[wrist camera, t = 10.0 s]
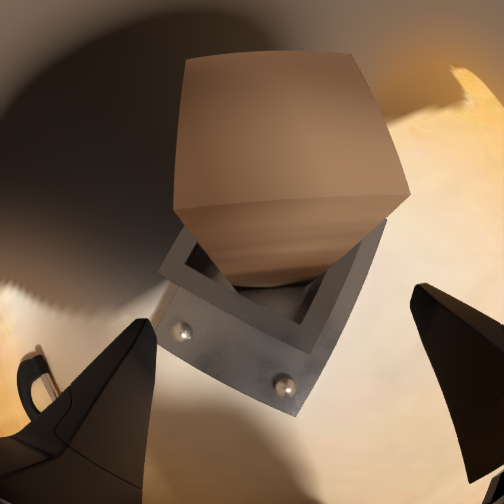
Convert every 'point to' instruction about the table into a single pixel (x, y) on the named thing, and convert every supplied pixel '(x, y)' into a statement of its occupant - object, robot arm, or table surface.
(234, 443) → the table surface
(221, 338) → the cup bracket
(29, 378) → the micrometer
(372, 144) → the rail post
